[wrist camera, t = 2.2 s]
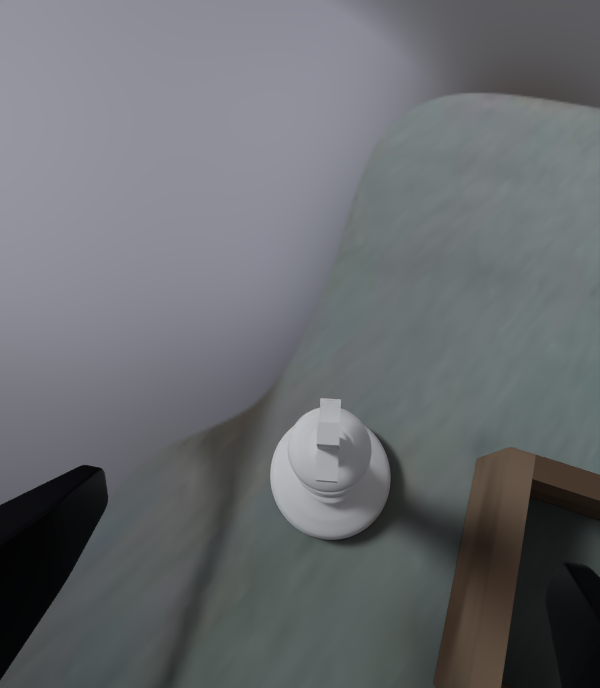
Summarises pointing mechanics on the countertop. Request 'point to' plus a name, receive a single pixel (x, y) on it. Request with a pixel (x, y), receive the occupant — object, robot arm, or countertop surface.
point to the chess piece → (330, 473)
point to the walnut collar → (499, 558)
